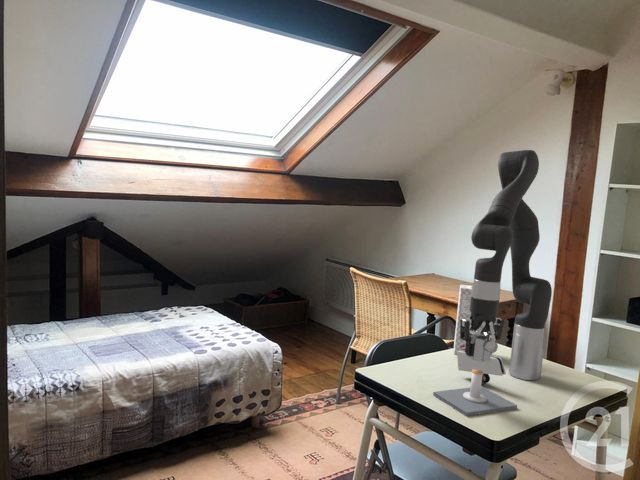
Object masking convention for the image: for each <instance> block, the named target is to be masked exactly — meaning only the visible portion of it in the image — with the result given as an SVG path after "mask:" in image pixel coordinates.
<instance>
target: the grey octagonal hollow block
mask: <svg viewBox="0 0 640 480" xmlns="http://www.w3.org/2000/svg"><path fill="white" fill-rule="evenodd" d="M471 337H472V336H471ZM471 337H470V338H471ZM473 344H474V351H473V356H472V357H470V356H468V355H467V357H468V358H470V359H472V360H475V361H481V362H487V361H490V356H492V355H491V353H492V354H495V352H497V350H498V348H499V347H498V346H499V345H498V343H497V342H496V341H495V342H494V341H492V338H491V337H489V336H486V335H485V334H482V333H481V334H480V335H479V336H478V337H477V338H476V339H475V342H474V343H473Z"/></svg>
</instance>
